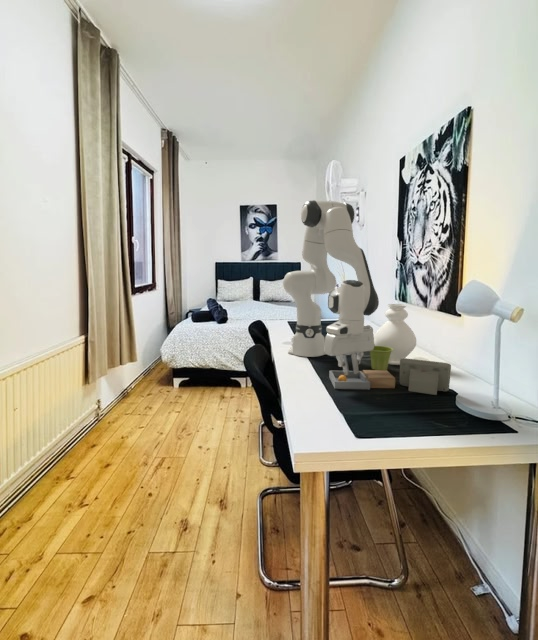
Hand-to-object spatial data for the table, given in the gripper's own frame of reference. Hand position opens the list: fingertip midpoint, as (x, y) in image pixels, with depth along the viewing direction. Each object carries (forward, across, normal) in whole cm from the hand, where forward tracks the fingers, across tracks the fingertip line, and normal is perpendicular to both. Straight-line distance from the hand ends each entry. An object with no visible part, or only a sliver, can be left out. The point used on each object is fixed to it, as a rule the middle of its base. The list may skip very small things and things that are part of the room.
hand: (349, 365), depth 136 cm
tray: (+7, 0, 0) cm, 7 cm away
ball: (+5, +3, 0) cm, 6 cm away
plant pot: (+7, -23, -8) cm, 26 cm away
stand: (+6, -9, +5) cm, 12 cm away
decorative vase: (+7, -39, -16) cm, 43 cm away
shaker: (+3, 0, +1) cm, 3 cm away
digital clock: (+7, -18, +17) cm, 26 cm away
